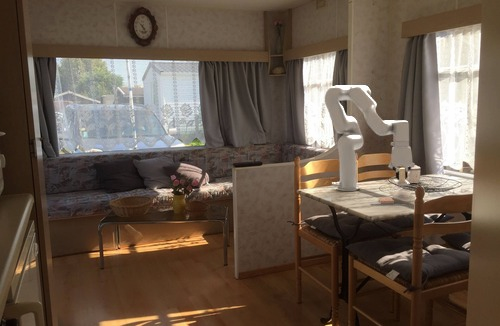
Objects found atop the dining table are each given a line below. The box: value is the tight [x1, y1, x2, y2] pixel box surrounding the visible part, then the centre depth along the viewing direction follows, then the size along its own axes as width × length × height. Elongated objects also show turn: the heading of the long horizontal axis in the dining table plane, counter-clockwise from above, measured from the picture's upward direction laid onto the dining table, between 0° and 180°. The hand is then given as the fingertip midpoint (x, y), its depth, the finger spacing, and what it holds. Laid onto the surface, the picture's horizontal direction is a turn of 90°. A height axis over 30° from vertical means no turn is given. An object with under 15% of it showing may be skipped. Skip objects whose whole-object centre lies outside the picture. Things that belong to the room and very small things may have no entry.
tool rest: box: [389, 190, 414, 198], centre depth 227 cm, size 10×13×1 cm
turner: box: [393, 167, 410, 186], centre depth 225 cm, size 6×10×8 cm, turn 171°
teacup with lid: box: [406, 164, 421, 184], centre depth 256 cm, size 12×9×12 cm
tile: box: [378, 196, 395, 204], centre depth 213 cm, size 6×2×8 cm
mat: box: [370, 203, 406, 207], centre depth 214 cm, size 16×16×1 cm
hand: (401, 178), depth 226 cm, fingers closed on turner, 3 cm apart
